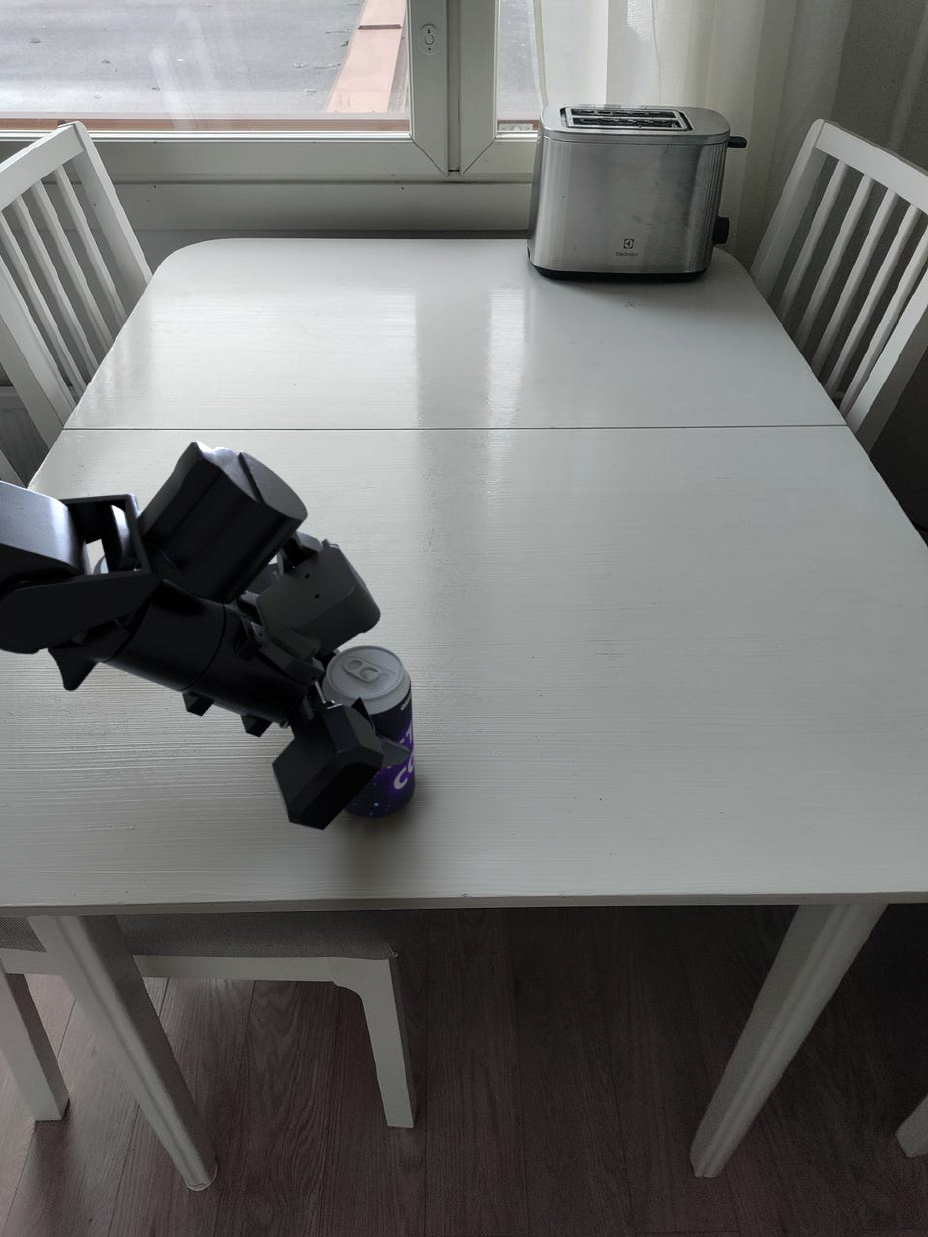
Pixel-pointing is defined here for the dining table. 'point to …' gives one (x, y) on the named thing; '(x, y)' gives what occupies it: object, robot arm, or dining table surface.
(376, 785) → the beverage can
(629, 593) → the dining table surface
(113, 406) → the dining table surface
